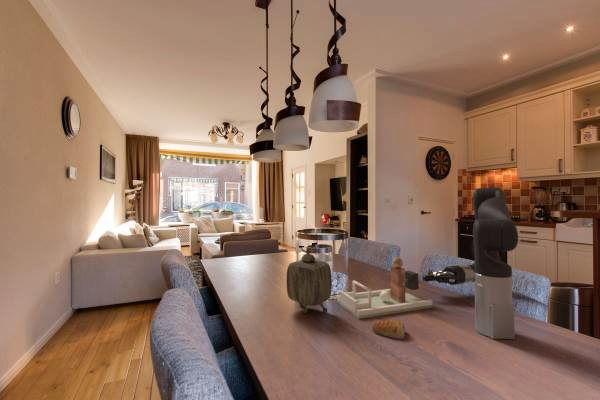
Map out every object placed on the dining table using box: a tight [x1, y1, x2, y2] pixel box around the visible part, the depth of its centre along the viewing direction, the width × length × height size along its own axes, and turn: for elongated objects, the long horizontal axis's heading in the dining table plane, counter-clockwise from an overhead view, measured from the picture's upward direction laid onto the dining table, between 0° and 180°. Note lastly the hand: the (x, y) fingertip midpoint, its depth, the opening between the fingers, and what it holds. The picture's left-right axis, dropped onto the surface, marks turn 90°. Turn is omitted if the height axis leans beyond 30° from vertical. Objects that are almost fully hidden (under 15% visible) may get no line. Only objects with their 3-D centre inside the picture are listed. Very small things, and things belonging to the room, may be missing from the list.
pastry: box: [371, 319, 406, 340], centre depth 86 cm, size 9×7×4 cm
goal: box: [338, 280, 372, 313], centre depth 105 cm, size 7×13×8 cm, turn 17°
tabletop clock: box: [286, 244, 333, 314], centre depth 103 cm, size 14×9×25 cm, turn 51°
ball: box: [380, 291, 391, 302], centre depth 109 cm, size 4×4×4 cm
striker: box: [389, 256, 420, 302], centre depth 111 cm, size 10×5×16 cm, turn 107°
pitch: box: [336, 288, 433, 320], centre depth 108 cm, size 30×17×2 cm, turn 107°
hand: (424, 278), depth 114 cm, fingers closed
